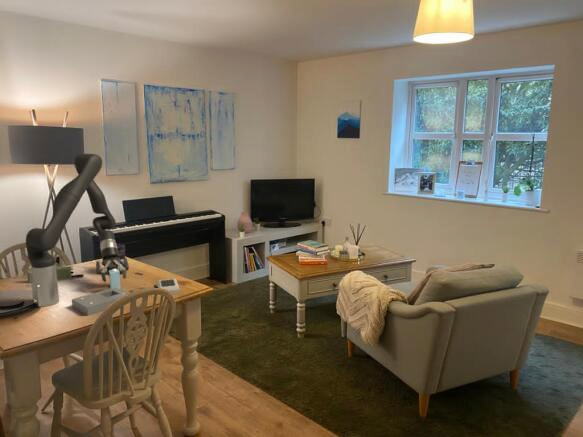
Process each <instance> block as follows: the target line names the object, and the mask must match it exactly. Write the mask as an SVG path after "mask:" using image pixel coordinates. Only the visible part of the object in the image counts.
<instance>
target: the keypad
mask: <svg viewBox="0 0 583 437" xmlns="http://www.w3.org/2000/svg"><path fill="white" fill-rule="evenodd" d="M157 287H158V288H162V289H166V290H168V291H170V292H171V293H172V294H171V295H175V294H177V295H178V294H180V293H181V292H180V291H181V290H180V287H179V284H178V280H177V278H168V279H159V280H156V288H157Z"/></svg>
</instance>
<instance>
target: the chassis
mask: <svg viewBox="0 0 583 437" xmlns="http://www.w3.org/2000/svg"><path fill="white" fill-rule="evenodd" d="M127 294H129V292H127V291H126V290H123V289H118V288H116V287H114V288H111V289H110V288H109V289H108V288H107V289H104V290H100V291H97V292H94V293H89V294H86V295H83V296H78V297H74V298H71V305H72V306H71V307H72V308H74V309H76V311H77V310H78V312H81V313H83V314H85V315H86V316H91V315H95V314H98V313H101V312H104V311H103V310H104V309H106V308H107V307H108V306H109V305H110V304H112V303H113V302H115V301H116V300H117V299H119V298H121V297H123V296H125V295H127Z"/></svg>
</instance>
